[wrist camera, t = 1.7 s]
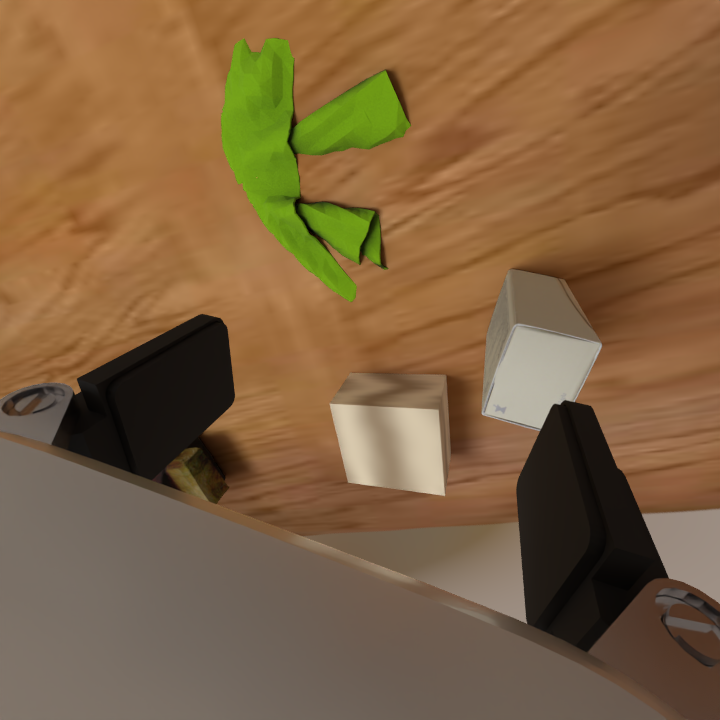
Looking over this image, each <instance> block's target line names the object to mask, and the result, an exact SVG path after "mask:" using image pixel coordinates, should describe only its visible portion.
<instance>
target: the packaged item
mask: <svg viewBox="0 0 720 720" xmlns="http://www.w3.org/2000/svg"><path fill="white" fill-rule="evenodd" d="M152 481H154V482H157V483H160V484H163V485H165V486H168V487H171V488H173V489H176V490H179V491H182V492H184V493H187V494H190V495H192V496H195V497H198V498H201V499H203V500H206V501H209V502H211V503H214V504H217V502H218V501H219V500H220V498H221V497H222V496H223V495H224V493H225V492H226V491H227V490H228V489H229V486H227V484H226V483H225V476H224V475H223V473H222V472H221V470H220V469H219V467H218V466H217V465H216V463H215V462H214V460H213V457H212V456H211V454H210V452H209V451H208V450H207V449H206V448H205V446H204V445H203V443H202V441H201V440H200V439H199V437H197V438H196V439H195V440H194V441H193V442H192V443H191V444H190V445H189V446H188V447H187V448H186V449H185V450H184V451H182V452H181V453H180V454H179V455H178V456H177V457H176V458H175V459H174V460H173V461H172V462H171V463H170V464H169V465H168V466H166V467H165V468H164V469H163V470H162V471H161V472H160V473H159V474H158V475H157V476H156V477H155V478H154V479H152Z"/></svg>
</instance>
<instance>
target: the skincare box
mask: <svg viewBox="0 0 720 720" xmlns="http://www.w3.org/2000/svg"><path fill="white" fill-rule="evenodd" d="M601 347H602V343H601V341H600V339H599V338H598V336H597V335H596V333H595V331H594V330H593V328H592V326H591V324H590V322H589V321H588V319H587V317H586V316H585V314H584V312H583V311H582V309H581V307H580V305H579V304H578V302H577V300H576V299H575V297H574V295H573V293H572V292H571V290H570V288H569V287H568V285H567V283H566V281H565V280H564V279H560V278H555V277H550V276H546V275H541V274H536V273H531V272H526V271H521V270H515V269H510V270H509V271H508V273H507V276H506V278H505V281H504V284H503V286H502V289H501V292H500V295H499V298H498V301H497V304H496V307H495V310H494V313H493V316H492V319H491V322H490V325H489V329H488V332H487V337H486V352H485V368H484V383H483V398H482V415H485V416H489V417H492V418H495V419H499V420H502V421H506V422H509V423H513V424H516V425H520V426H523V427H526V428H530V429H534V430H538V431H540V430H541V428H542V426H543V424H544V422H545V420H546V417H547V415H548V413H549V411H550V409H551V407H552V405H553V404H559V405H560V404H561V403H562V402H563V401H564V400H568V401H572V402H575V400H576V398H577V396H578V394H579V392H580V390H581V388H582V387H583V384H584V382H585V380H586V378H587V376H588V374H589V372H590V370H591V368H592V366H593V364H594V362H595V360H596V358H597V356H598V354H599V352H600V349H601Z"/></svg>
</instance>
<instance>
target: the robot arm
mask: <svg viewBox="0 0 720 720" xmlns="http://www.w3.org/2000/svg"><path fill="white" fill-rule="evenodd" d="M77 381H78V384H79V386H80V389H81V392H80V393H78V394H76V395H75V394H74V391H73V390H72V388H71V387H70V386H68V385H66V384H62V383H43V384H37V385H32V386H29V387H25V388H22V389H19V390H17V391H15V392H12V393H10V394H8V395H7V396H5V397H4V398H2V399H0V720H720V604H719V603H718V602H716V601H715V600H714V599H712V598H710V597H709V596H708V595H706V594H705V593H703V592H702V591H700V590H698V589H696V588H694V587H692V586H690V585H688V584H686V583H684V582H681V581H677V580H673V579H669V578H668V575H667V573H666V570H665V568H664V566H663V563H662V561H661V559H660V556H659V554H658V552H657V549H656V547H655V545H654V542H653V540H652V538H651V535H650V533H649V531H648V528H647V526H646V524H645V521H644V519H643V517H642V514H641V512H640V510H639V507H638V505H637V503H636V500H635V498H634V496H633V493H632V491H631V489H630V486H629V484H628V482H627V479H626V477H625V475H624V474H623V472H622V471H621V470H620V469H618V468H617V466H616V463H615V461H614V459H613V456H612V454H611V451H610V449H609V447H608V444H607V442H606V439H605V437H604V434H603V432H602V430H601V427H600V425H599V422H598V420H597V418H596V415H595V413H594V410H593V408H592V407H591V406H589V405H584V404H580V403H576V402H572V401H568V400H564V401H563V402H562V403H561V404H560V405H559V404H553V405H552V407H551V409H550V411H549V413H548V415H547V417H546V420H545V422H544V424H543V426H542V428H541V430H540V433H539V435H538V437H537V439H536V441H535V444H534V446H533V448H532V450H531V452H530V454H529V457H528V459H527V461H526V463H525V465H524V467H523V470H522V472H521V474H520V476H519V479H518V482H517V489H516V493H517V506H518V518H519V531H520V543H521V557H522V570H523V583H524V596H525V608H526V619H527V624H526V623H524V622H521V621H519V620H517V619H514V618H512V617H510V616H507V615H505V614H502V613H500V612H497V611H494V610H492V609H489V608H487V607H485V606H482V605H480V604H477V603H474V602H472V601H469V600H467V599H464V598H462V597H459V596H457V595H454V594H452V593H449V592H447V591H444V590H442V589H439V588H436V587H434V586H432V585H429V584H427V583H424V582H421V581H419V580H416V579H413V578H411V577H408V576H405V575H403V574H400V573H398V572H395V571H392V570H389V569H387V568H384V567H382V566H379V565H377V564H373V563H371V562H369V561H366V560H363V559H360V558H358V557H355V556H353V555H350V554H347V553H345V552H342V551H339V550H337V549H334V548H331V547H329V546H326V545H324V544H321V543H318V542H316V541H313V540H311V539H308V538H305V537H303V536H300V535H297V534H294V533H292V532H289V531H286V530H284V529H281V528H278V527H276V526H273V525H270V524H268V523H265V522H262V521H260V520H257V519H254V518H252V517H249V516H246V515H244V514H241V513H238V512H236V511H233V510H230V509H227V508H225V507H222V506H219V505H217V504H214V503H211V502H209V501H206V500H203V499H201V498H198V497H195V496H192V495H190V494H187V493H184V492H182V491H179V490H176V489H173V488H171V487H168V486H165V485H163V484H160V483H157V482H154V481H152V479H154V478H155V477H156V476H157V475H158V474H159V473H160V472H161V471H162V470H163V469H164V468H165V467H166V466H168V465H169V464H170V463H171V462H172V461H173V460H174V459H175V458H176V457H177V456H178V455H179V454H180V453H181V452H182V451H184V450H185V449H186V448H187V447H188V446H189V445H190V444H191V443H192V442H193V441H194V440H195V439H196V438H197V437H198V436H200V435H201V434H202V433H203V432H204V431H205V430H206V429H207V428H208V427H209V426H210V425H211V424H212V423H213V422H215V421H216V420H217V419H218V418H219V417H220V416H221V415H222V414H223V413H224V412H225V411H226V410H227V409H228V408H229V407H230V406H231V405H232V404H233V402H234V398H235V392H234V383H233V374H232V365H231V356H230V347H229V338H228V329H227V326H226V325H225V324H224V323H223V321H222V319H220V318H217V317H213V316H209V315H204V314H201V315H198V316H196V317H194V318H192V319H190V320H188V321H187V322H185V323H183V324H181V325H179V326H177V327H175V328H173V329H171V330H169V331H167V332H165V333H164V334H162V335H160V336H158V337H156V338H154V339H152V340H150V341H148V342H146V343H144V344H142V345H141V346H139V347H137V348H135V349H133V350H131V351H129V352H127V353H125V354H123V355H121V356H119V357H118V358H116V359H114V360H112V361H110V362H108V363H106V364H104V365H102V366H100V367H98V368H97V369H95V370H93V371H91V372H89V373H87V374H85V375H83V376H81V377H79V378H77Z"/></svg>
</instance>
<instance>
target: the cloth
mask: <svg viewBox="0 0 720 720" xmlns="http://www.w3.org/2000/svg"><path fill="white" fill-rule="evenodd" d="M293 75H294V58H293V57H292V55H291V52H290V48H289V44H288V40H283V39H277V38H272V39H266V41H265V43H264V46H263V48H262V50H261V53H259V52H251V50H250V49H249V47H248V45H247V43H246V41H245V39H242V40H241V41H239V42H238V43H236V44H235V46H234V51H233V57H232V63H231V69H230V71H229V73H228V76H227V81H226V86H225V104H224V107H223V109H222V110H223V113H222V116H221V126H222V143H223V149H224V152H225V154H226V157H227V160H228V162H229V165H230V167H231V169H232V170H233V171H234V173H235V178H236V180H237V182H238V184H241V183H243V190H244V191H246V192H247V196H248V199H249V201H250V203H252V204H253V207H254V208H255V210H256V211H257V213H258V215H259V217H260V219H261V220H262V222H263V224H264V225H265V226H266V228H267V229H268V230H269V231H270V232H271V233H272V234H274V236H275V237H276V239H277V240H278V241H279V242H280V243H281V244H282V245H283V246H284V247H285V248H286V249H287V250H288V251H289V252H291V253H293V254H294V255H295V257H296V258H297V260H298V261H299V262H300V263H301V264H302V265H303V266H304V267H305V268H306V269H307V270H308V271H310V272H311V273H313V274H315V276H317V277H319V278H320V280H321V281H322V282H323V283H325V284H326V285H327V286H328V287H329V288H330V289H332V290H333V291H334V292H336V293H338V294H339V295H340V296H342V297H343V298H345V299H347V300H348V301H350V302H352V301H353V300H354V299H355V297H356V288H357V287H356V284H355V283H354V282H353V281H352V280H351V279H350V278H349V277H348V275H347V274H346V273H345V272H344V271H343V270H342V268H341V267H340V266H339V264H338V263H337V262H336V260H335V259H334V258H333V256H332V255H331V254H330V253H329V252H328V250H327V249H326V248H325V247H324V246H323V245H322V244H321V243H320V242H319V241H318V240H317V239H316V238H315V237H314V236H312V235H310V234H309V232H308V231H310V232H312V233H314V234H316V235H318V236H319V237H321V238H322V239H324V240H325V241H327V242H328V243H329V244H330V245H331V246H332V247H333V248H334V249H336V250H337V251H338V252H339V253H340V254H341V255H343V256H344V257H346V258H348V259H350V260H352V261H354V262H356V263H358V264H359V265H360V264H361V263H360V262H359V255H360V251H361V252H362V255H365V256H366V257H367V258H369V259H370V260H371V261H372V262H373V263H375V264H376V265H378V266H379V267H381V268H382V269H384V270H386V269H388V268H387V267H385V266H383V265H382V264H381V258H380V251H381V229H380V221H379V215H378V214H377V213H376V212H375V211H371V210H368V209H362V208H340V207H338V206H336V205H333V204H331V203H327V202H315V203H309V204H307V203H300V204H294V203H295V201H296V200H297V199H300V196H301V195H300V177H299V173H298V166H297V159H296V157H295V155H294V154H297V153H300V154H307V155H324V154H328V153H331V152H334V151H344V150H346V149H349V148H351V147H354V148H361V149H371V148H373V147H375V146H378V145H380V144H383V143H385V142H388V141H391V140H393V139H395V138H400V137H403V136H404V134H405V131H406V130H407V129H408V128H409V127H410V126H411V125H410V123H409V122H408V120H407V118H406V116H405V114H404V112H403V109H402V107H401V105H400V102H399V100H398V98H397V95H396V93H395V91H394V89H393V86H392V84H391V82H390V80H389V77H388V75H387V73H386V70H383V71H381V72H379V73H377V74H375V75H374V76H372V77H370V78H368V79H366V80H364V81H362V82H361V83H359V84H358V85H356V86H354V87H353V88H351V89H349V90H348V91H346V92H345V93H343V94H341V95H340V96H338V97H337V98H335V99H334V100H332V101H330V102H329V103H327V104H326V105H324V106H323V107H321V108H320V109H318V110H317V111H315V112H314V113H312V114H311V115H309V116H308V117H306V118H305V119H303V120H302V121H301V122H299V123H298V124H297V125H296V126H295V127H294V128H292V129H291V121H292V117H293V114H294V104H293ZM256 177H258V178H256Z"/></svg>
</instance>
